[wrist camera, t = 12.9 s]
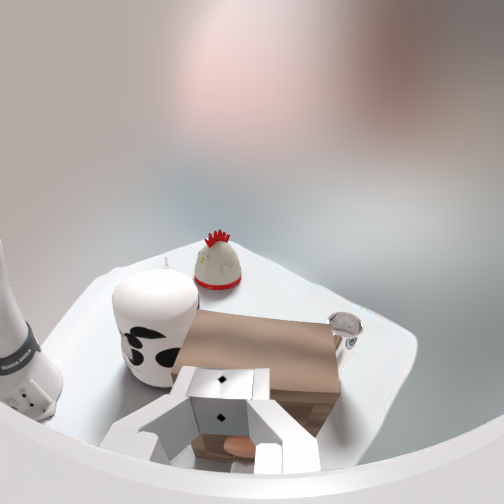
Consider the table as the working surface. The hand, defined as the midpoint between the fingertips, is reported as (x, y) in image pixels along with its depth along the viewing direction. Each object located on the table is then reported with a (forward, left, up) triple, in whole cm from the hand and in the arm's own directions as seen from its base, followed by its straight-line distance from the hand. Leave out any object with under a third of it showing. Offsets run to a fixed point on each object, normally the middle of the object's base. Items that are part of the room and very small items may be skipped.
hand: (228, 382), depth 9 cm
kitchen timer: (+48, +44, -38) cm, 75 cm away
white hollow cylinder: (+33, +2, -37) cm, 50 cm away
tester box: (+13, +6, -37) cm, 40 cm away
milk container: (+16, +30, -38) cm, 51 cm away
